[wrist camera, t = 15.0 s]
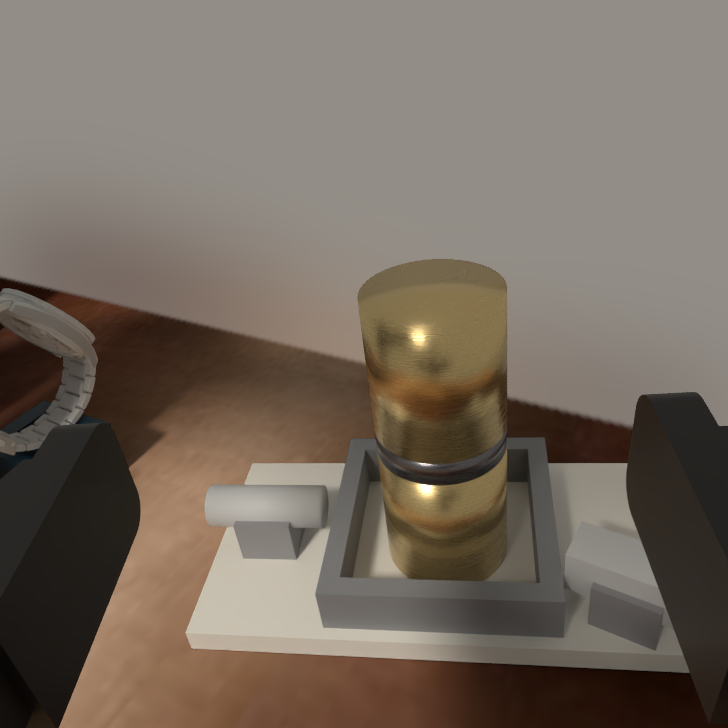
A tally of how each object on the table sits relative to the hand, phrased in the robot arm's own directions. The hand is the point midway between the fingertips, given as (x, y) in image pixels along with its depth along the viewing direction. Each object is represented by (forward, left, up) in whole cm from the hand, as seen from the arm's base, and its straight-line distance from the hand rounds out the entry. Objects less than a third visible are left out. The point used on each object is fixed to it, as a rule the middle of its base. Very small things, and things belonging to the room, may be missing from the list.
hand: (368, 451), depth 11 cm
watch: (-21, +18, -17) cm, 33 cm away
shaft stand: (0, +13, -17) cm, 21 cm away
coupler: (0, +13, -16) cm, 20 cm away
